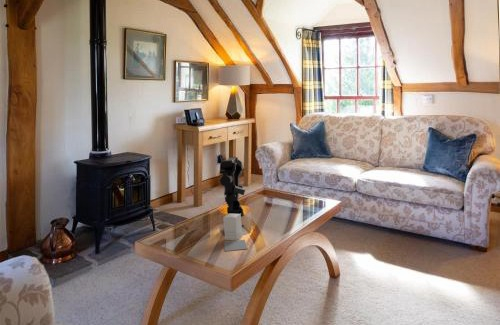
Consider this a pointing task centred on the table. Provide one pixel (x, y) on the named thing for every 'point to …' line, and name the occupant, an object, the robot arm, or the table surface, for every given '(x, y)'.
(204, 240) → the table surface
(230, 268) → the table surface
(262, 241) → the table surface
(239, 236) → the supplement box
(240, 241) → the mat
